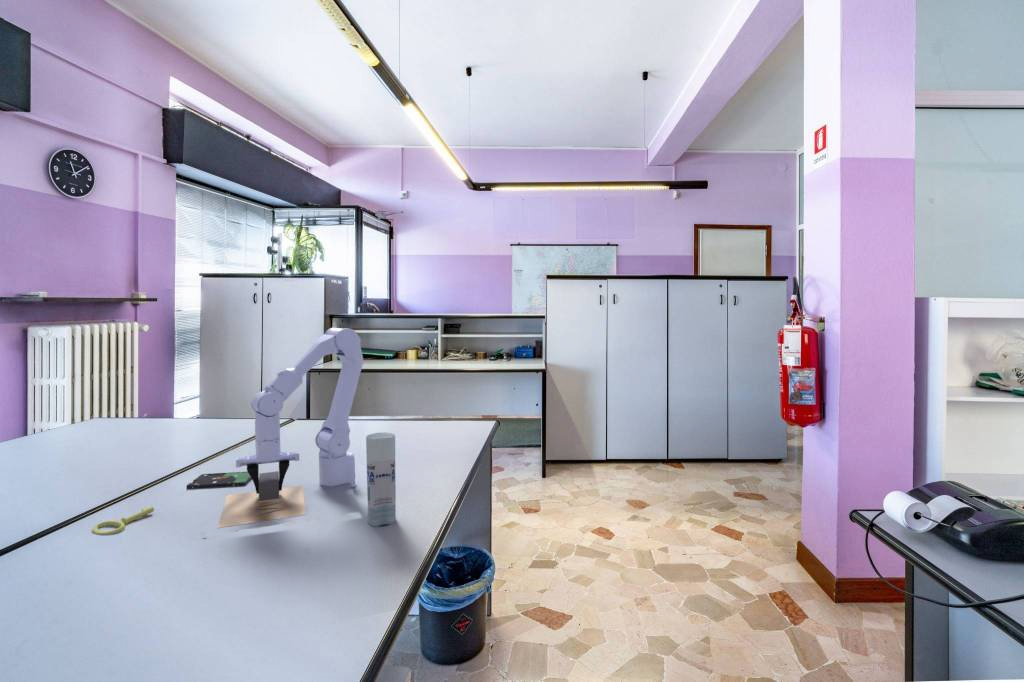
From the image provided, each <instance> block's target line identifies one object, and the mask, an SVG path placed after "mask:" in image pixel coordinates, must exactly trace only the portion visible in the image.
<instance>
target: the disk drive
mask: <svg viewBox="0 0 1024 682" xmlns="http://www.w3.org/2000/svg"><path fill="white" fill-rule="evenodd" d="M251 480H252V478H251V476H250V475H249V473H248V471H235V472H233V471H232V472H216V473H202V474H200V475H198V477H196V478H195V479H193V480H192V482H189V483H187V485H186V491H188V490H193V489H210V488H226V487H227V488H228V487H246V486H247V485H248V484H249V483H250V482H251Z"/></svg>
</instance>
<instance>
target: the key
mask: <svg viewBox="0 0 1024 682" xmlns="http://www.w3.org/2000/svg"><path fill="white" fill-rule="evenodd" d="M154 511H155V509H154V507H153V506H150V507H145V508H142V509H141V511H139V512H137V513H134V514H132V515H130V516H128V517H122V518H121V519H120V520H106V521H103V522H99V523H97V524H95V525H94V526H93V528H92V529H91V531H92V533H93V534H94V535H95V534H96V535H99V534H100V535H99V536H105V535H104V534H109V535H114V534H113V533H115V534H118V533H117V532H119V533H121V532H123V531H124V530H125V529H126V525H125V524H127V525H128V524H129V523H132V522H133V521H135V520H138V519H140V518H142V517H145V516H147V515H148V514H149V515H150V514H151V513H153V512H154ZM111 525H113V526H111ZM103 526H104V527H117V526H119V527H118V528H115V529H112V530H106V531H105V530H104V531H103V530H99V529H100V527H101V528H103ZM122 530H123V531H122ZM120 531H121V532H120Z"/></svg>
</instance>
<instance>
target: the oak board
mask: <svg viewBox="0 0 1024 682" xmlns="http://www.w3.org/2000/svg"><path fill="white" fill-rule="evenodd" d="M306 515H307V511H306V505H305V497H304V488H303V485H297V486H289V487H282V490H281V491H279V500H274V501H266V502H259V493H258V494H256V491H251V492H250V491H249V492H241V493H233V494H227V495H226V498H225V500H224V504H223V508H222V511H221V515H220V518H219V522H218V525H217V529H221V528H228V527H234V526H241V525H249V524H255V523H262V522H267V521H273V520H281V519H288V518H295V517H301V516H306Z"/></svg>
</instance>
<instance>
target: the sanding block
mask: <svg viewBox="0 0 1024 682" xmlns="http://www.w3.org/2000/svg"><path fill="white" fill-rule="evenodd" d="M274 500H279V470H278V471H277V470H276V471H269V472H261V473H260V472H259V502H266V501H274Z"/></svg>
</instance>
